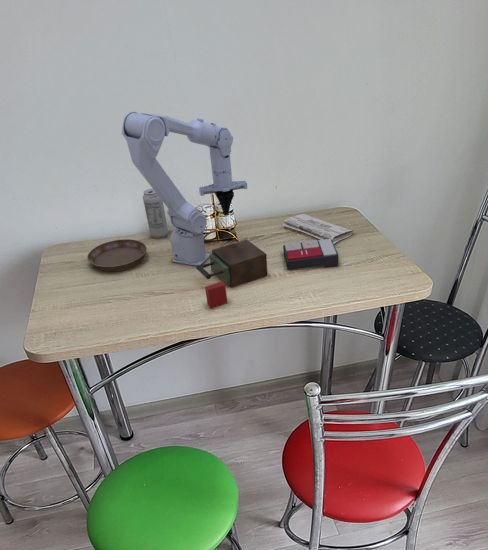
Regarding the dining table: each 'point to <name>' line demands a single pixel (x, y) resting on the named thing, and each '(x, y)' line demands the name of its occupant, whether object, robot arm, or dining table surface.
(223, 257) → the cabinet
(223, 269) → the drawer
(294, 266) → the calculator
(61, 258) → the dining table surface
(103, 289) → the dining table surface
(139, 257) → the plant saucer
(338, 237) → the newspaper
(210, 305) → the card box
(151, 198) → the energy drink can
